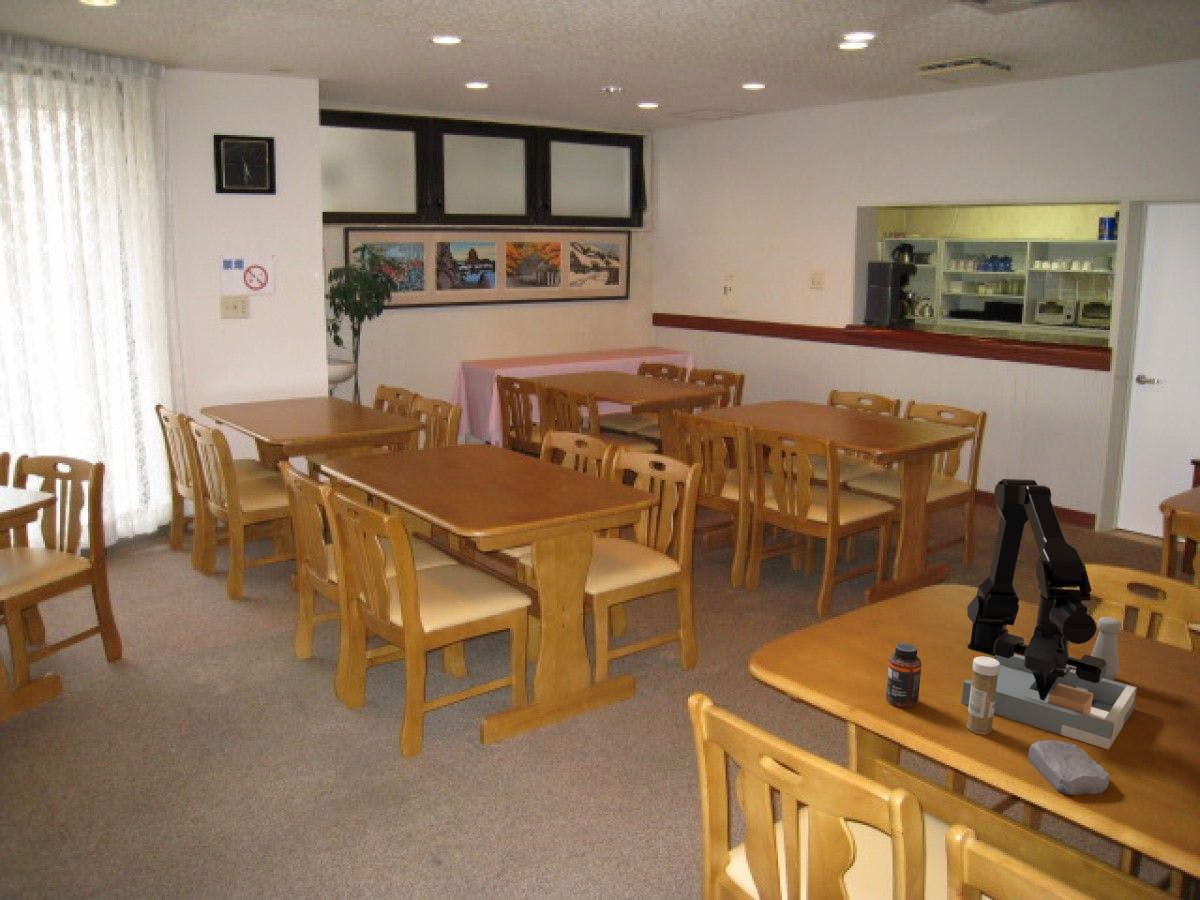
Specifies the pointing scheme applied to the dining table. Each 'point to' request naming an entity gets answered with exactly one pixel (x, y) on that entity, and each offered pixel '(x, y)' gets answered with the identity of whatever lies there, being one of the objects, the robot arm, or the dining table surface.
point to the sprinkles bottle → (982, 695)
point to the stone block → (1068, 768)
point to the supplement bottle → (904, 676)
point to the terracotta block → (1071, 699)
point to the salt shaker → (1108, 645)
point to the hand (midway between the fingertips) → (1042, 699)
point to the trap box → (1025, 706)
